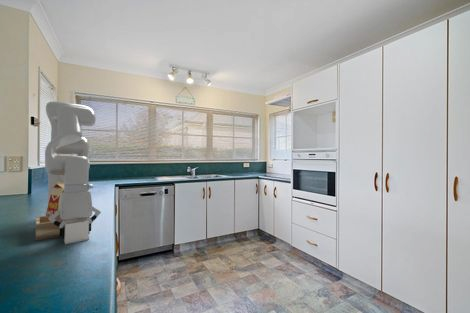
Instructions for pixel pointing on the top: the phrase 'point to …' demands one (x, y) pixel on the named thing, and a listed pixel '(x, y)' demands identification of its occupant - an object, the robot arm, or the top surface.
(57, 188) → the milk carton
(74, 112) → the robot arm
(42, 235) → the pine crate
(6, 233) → the top surface
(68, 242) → the cream crate
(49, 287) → the top surface
